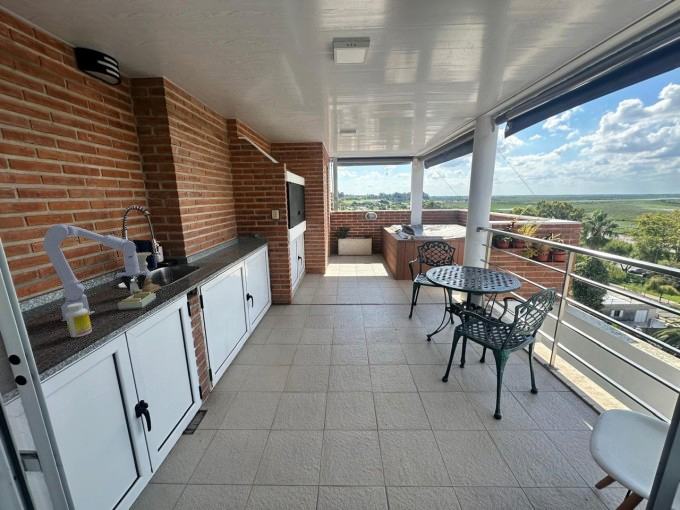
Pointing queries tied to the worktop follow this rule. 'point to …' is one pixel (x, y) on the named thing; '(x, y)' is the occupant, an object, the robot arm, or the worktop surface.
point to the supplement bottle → (78, 320)
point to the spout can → (134, 287)
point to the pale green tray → (137, 301)
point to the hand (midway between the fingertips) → (135, 289)
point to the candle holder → (147, 283)
